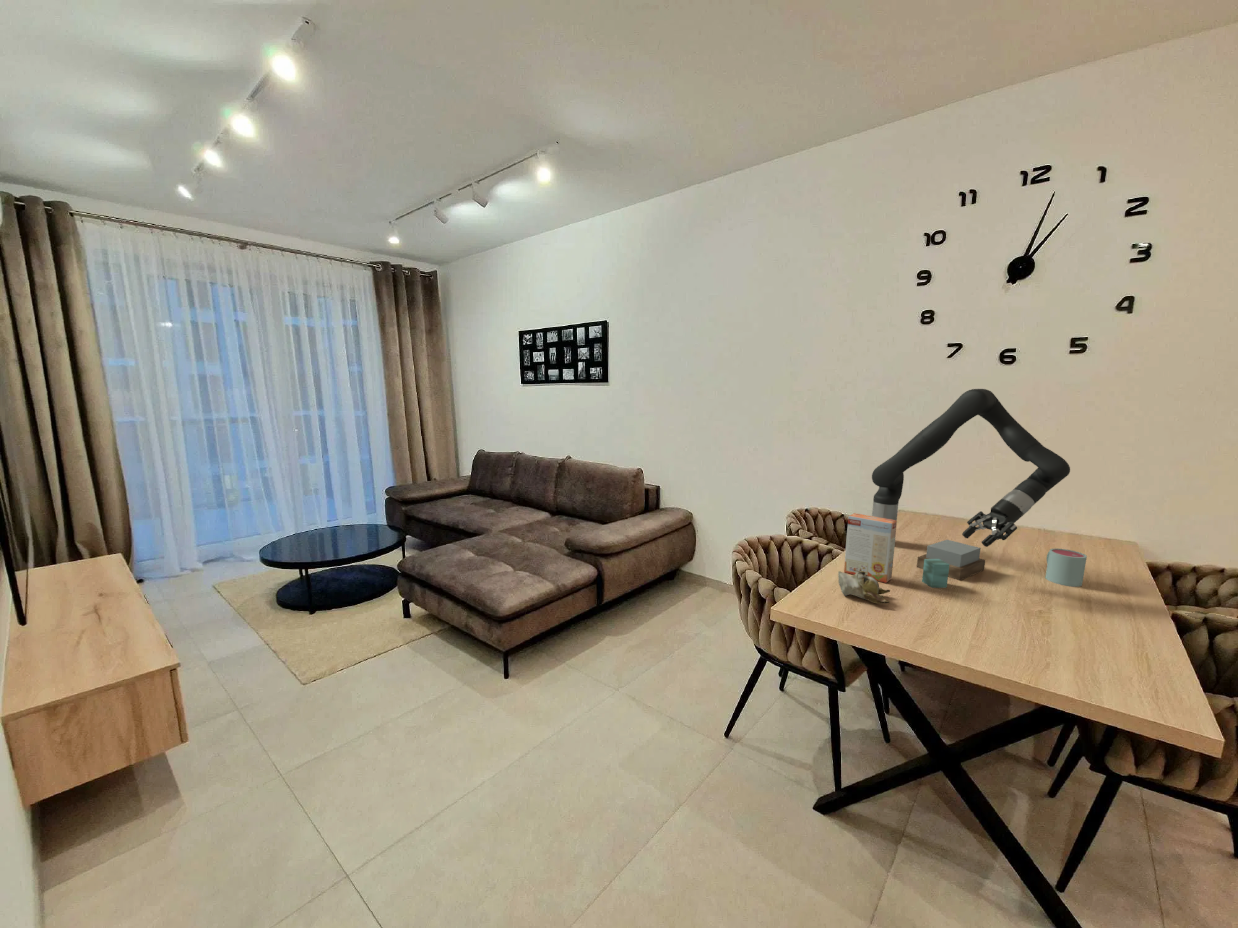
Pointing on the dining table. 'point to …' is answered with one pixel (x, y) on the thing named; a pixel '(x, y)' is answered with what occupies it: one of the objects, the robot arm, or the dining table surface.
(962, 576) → the tower base slab
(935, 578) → the teal pillar
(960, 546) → the tower top slab
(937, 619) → the dining table surface
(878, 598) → the ceramic sculpture
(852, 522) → the cracker box
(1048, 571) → the mug
